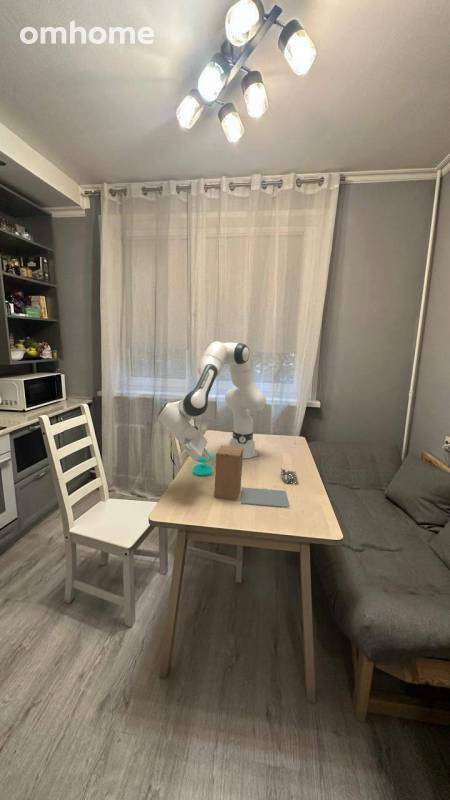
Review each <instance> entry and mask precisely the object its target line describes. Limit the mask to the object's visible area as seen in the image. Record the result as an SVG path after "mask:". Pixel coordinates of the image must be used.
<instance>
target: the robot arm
mask: <svg viewBox="0 0 450 800" xmlns="http://www.w3.org/2000/svg"><path fill="white" fill-rule="evenodd" d="M250 354H251V353H250V349H249V347H248V346H247V344H245V343H242V342H229V341H228V342H221V341H213V342H212V343H210V344H209V346H207V348H206V350H205V351H204V352H203V354H202V356H201V358H200V360H199V362H198V364H197V365H198V366H197V373H198V374H199V378H198V381H197V383H196V385H195V387H194V388H193V390H191V391H189V392H188V393H187V394H186V396H184V398H183V399H181V400H177V401H174V402H173V401H172V402H167V403H164V405H163V406H162V408H161V409H160V410H159V411H158V414H157V417H158V419H159V421H160V422H161V424H162V425H163V427H165V428H166V430H167V431H169V432H170V433H172V435H173V437H174V438H175V440H177V441H178V442H179V444H181V446H183V448H184V450H185V452H186V454H188V456H189V457H190V458H191V459H192V460H193V461H194V462H197V460H198V459H199V458H200V457H203V458H204V459H206V461H209V460H210V457H211V456H210V455H209V454H208V452H209V451H208V450H207V448H206V447H207V444H208V440H207V438H206V437H205V436H204V434H203V433H202V432H201V431H200V430H199V427H198V426H197V425H193V424H192V423H191V422H190V421H192V420H194V419H195V418H197V417H198V416H202V415H203V414H204V413H206V411H207V409H208V406H209V394H210V391H211V390H212V387H213V385H214V383H215V380H216V379H217V377H218V376H219V375H220V373H221V372H222V370H223V367H224V366H225V365H229V366H228V367H229V372H230V378H231V382H232V384H233V385H234V387H236V388H230V389H228V390H227V391H226V392H225V395H224V398H225V403H226V404H227V405H228V406H229V409H230V410H231V412H232V414H233V415H232V416H233V430H232V438H231V439H230V440H229V445H228V446H229V447H237V448H243V459H251V458H254V457H257V456H258V453H257V451H256V449H255V447H256V446H255V445H256V441H254V439H253V438H254V432H253V431H254V430H253V428H254V419H253V417H252V416H251V415H250V414H249V412H248V411H247V410H250V411H252V412H253V411H254V412H255V411H262V410H263V409H264V408H266V405H267V404H266V403H267V398H266V396H265V394H264V393H262V391H261V390H259V389H258V387H257V386H256V384H255V381H254V380H253V376H252V372H251V367H250V364H251V363H250V361H249V358H250Z"/></svg>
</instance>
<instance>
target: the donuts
mask: <svg viewBox="0 0 450 800" xmlns="http://www.w3.org/2000/svg"><path fill="white" fill-rule="evenodd" d="M207 452H208V454H209V455H210V456H211V457H210V460H209V461H206V459H204V458H203V457H200V458H199V459H198V460H197V461H196V462H198V464H196V465H193V468H192V472H193V473H194V475H196V476H201V477H203V476H209V475H211V474H212V473H213V471H214V470H213V469H214V468H213V467H212V466H211V465H210V464H208V463H210V462H212V461H213V459H214V455H213V453H212V452H210V451H207Z"/></svg>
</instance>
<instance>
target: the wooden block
mask: <svg viewBox="0 0 450 800" xmlns="http://www.w3.org/2000/svg"><path fill="white" fill-rule="evenodd" d="M243 460H244V458H243V448H237V447H229V445H227V446H226V445H220V447H219V449H218V450H217V451H216V453H215V475H214V491H213V494H214V495H213V496H214V497H215V498H217V499H218V498H219V499H225V500H233V501H237V500H238V498H239V495H240V493H241V490H242V473H243V472H242V470H243Z"/></svg>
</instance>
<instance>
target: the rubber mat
mask: <svg viewBox="0 0 450 800" xmlns="http://www.w3.org/2000/svg"><path fill="white" fill-rule="evenodd" d="M240 494H241V495H240V504H241V505H247V506H248V505H249V506H261V507H271V508H281V507H290V508H291V506H290V502H289V499H288V494H287V491H286V490H280V489H279V490H278V489H267V488H255V487H243V486H241V489H240Z"/></svg>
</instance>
